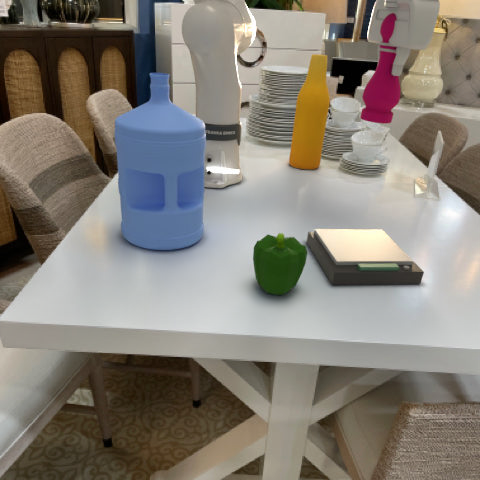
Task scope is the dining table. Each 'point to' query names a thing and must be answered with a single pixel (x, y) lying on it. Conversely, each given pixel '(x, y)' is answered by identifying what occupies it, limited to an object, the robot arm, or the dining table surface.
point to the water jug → (160, 171)
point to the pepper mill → (382, 80)
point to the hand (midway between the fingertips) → (388, 73)
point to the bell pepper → (278, 263)
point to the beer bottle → (310, 117)
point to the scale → (362, 257)
